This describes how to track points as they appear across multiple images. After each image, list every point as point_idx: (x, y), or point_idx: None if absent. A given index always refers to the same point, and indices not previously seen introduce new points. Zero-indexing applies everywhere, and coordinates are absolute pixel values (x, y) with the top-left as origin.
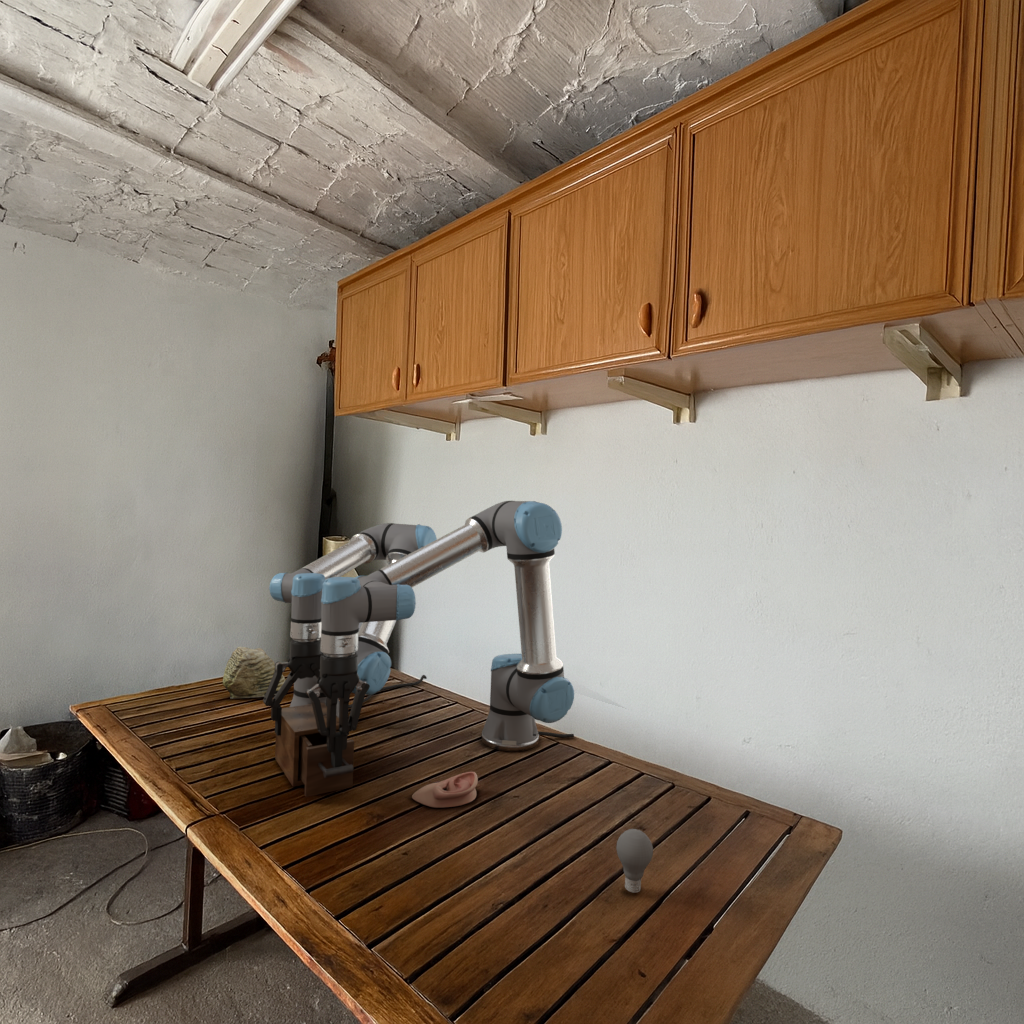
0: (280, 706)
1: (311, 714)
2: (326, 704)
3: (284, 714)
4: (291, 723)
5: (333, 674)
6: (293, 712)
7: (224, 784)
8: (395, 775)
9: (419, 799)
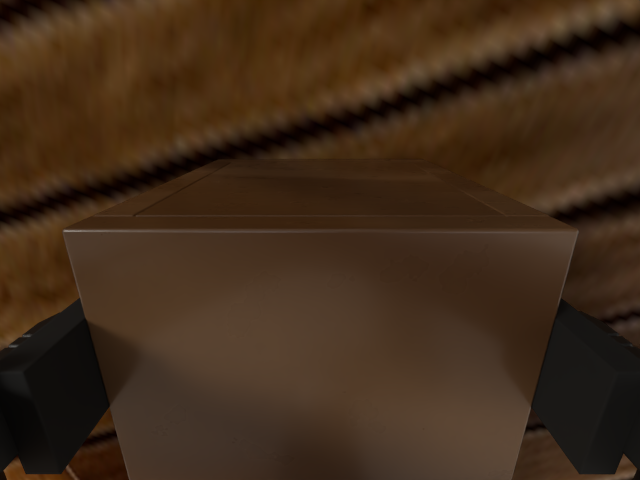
0: (46, 442)
1: (343, 476)
2: (559, 348)
3: (134, 403)
4: None
5: None
6: (215, 388)
7: (35, 302)
8: (536, 446)
9: None
